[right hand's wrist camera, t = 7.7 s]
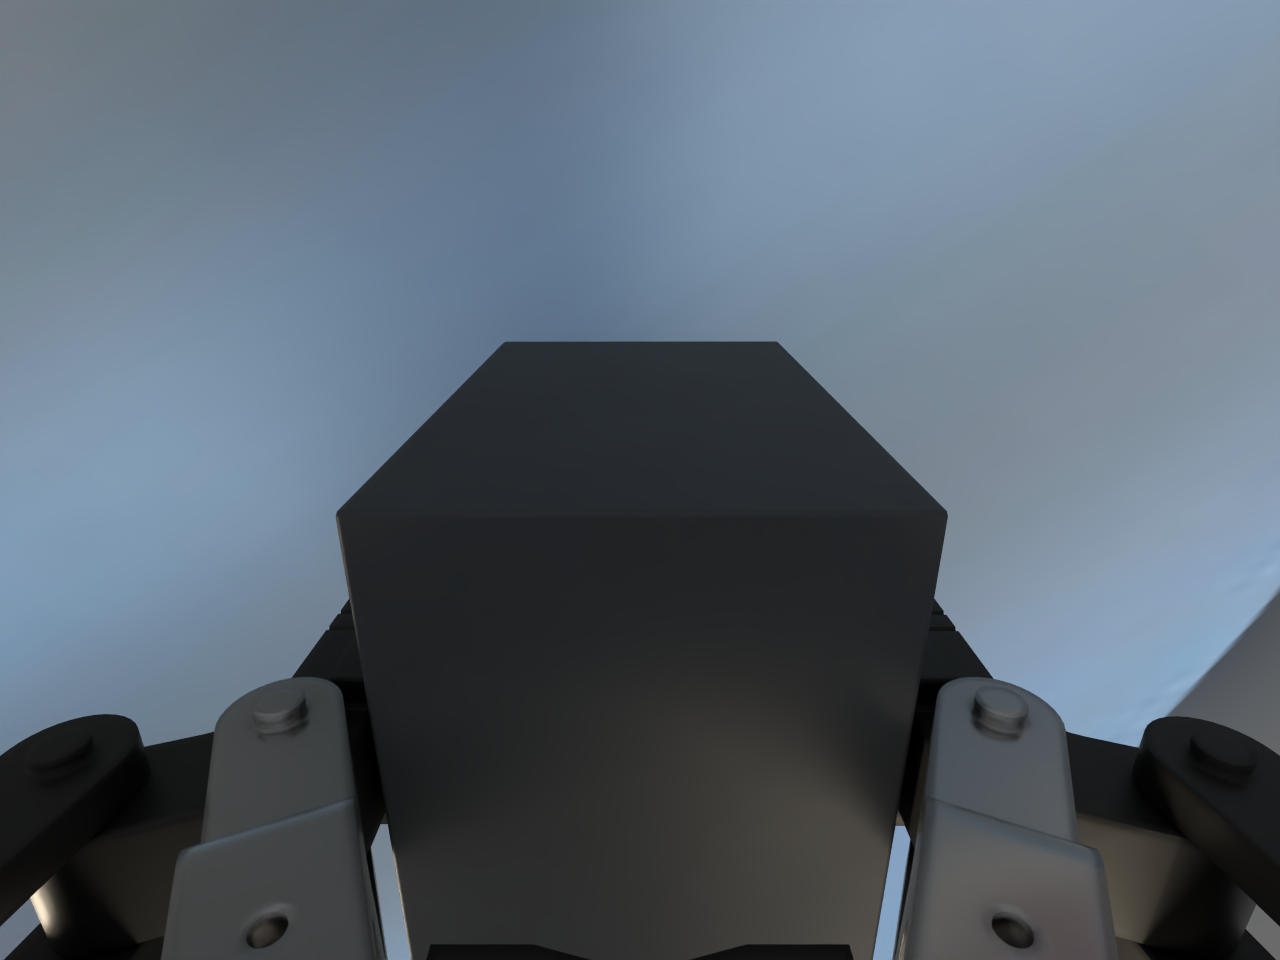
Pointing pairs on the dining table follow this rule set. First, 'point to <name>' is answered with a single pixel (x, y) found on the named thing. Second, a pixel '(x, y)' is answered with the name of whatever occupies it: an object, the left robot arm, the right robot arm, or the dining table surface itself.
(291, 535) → the dining table surface
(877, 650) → the box
